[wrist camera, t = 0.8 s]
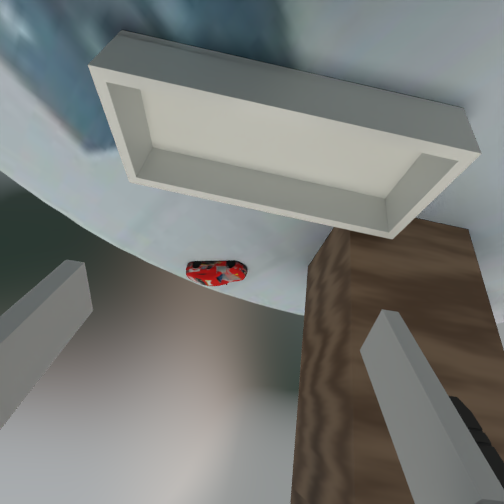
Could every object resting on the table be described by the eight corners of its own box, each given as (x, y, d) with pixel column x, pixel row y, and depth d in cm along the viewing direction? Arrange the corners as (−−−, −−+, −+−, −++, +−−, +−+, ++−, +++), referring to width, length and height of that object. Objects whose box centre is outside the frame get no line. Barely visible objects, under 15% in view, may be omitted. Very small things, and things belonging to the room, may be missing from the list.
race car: (243, 258, 54) (239, 276, 52) (251, 271, 58) (248, 289, 56) (184, 259, 58) (179, 276, 56) (196, 272, 62) (191, 288, 60)
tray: (121, 29, 23) (87, 64, 20) (463, 108, 24) (481, 153, 21) (149, 147, 34) (129, 182, 30) (387, 199, 34) (392, 239, 31)
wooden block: (349, 203, 36) (357, 660, 17) (468, 229, 36) (608, 707, 17) (308, 266, 51) (287, 542, 32) (391, 284, 52) (420, 567, 32)
